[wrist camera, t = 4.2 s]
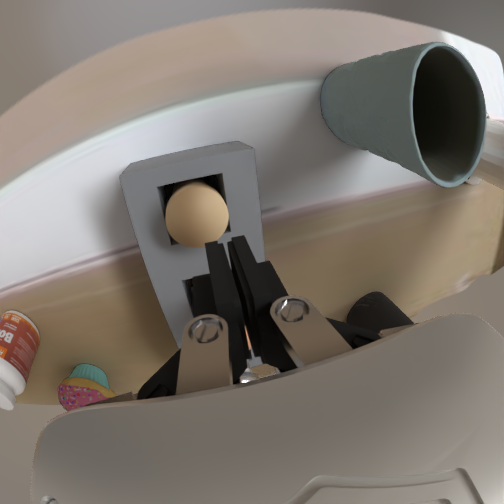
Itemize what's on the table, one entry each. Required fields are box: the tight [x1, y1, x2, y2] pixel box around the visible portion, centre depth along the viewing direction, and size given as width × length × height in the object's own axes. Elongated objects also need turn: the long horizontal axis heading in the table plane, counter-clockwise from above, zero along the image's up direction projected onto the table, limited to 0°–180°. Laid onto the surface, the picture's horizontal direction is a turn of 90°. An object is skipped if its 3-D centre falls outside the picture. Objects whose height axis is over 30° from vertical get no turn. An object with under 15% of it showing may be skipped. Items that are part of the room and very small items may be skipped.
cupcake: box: [58, 364, 116, 411], centre depth 25 cm, size 9×8×12 cm
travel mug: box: [347, 292, 414, 334], centre depth 29 cm, size 8×8×20 cm
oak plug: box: [165, 177, 229, 248], centre depth 19 cm, size 4×4×6 cm
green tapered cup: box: [320, 42, 487, 188], centre depth 17 cm, size 10×10×12 cm
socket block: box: [119, 141, 266, 367], centre depth 24 cm, size 9×22×5 cm, turn 6°
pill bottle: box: [0, 310, 40, 410], centre depth 19 cm, size 6×6×11 cm
